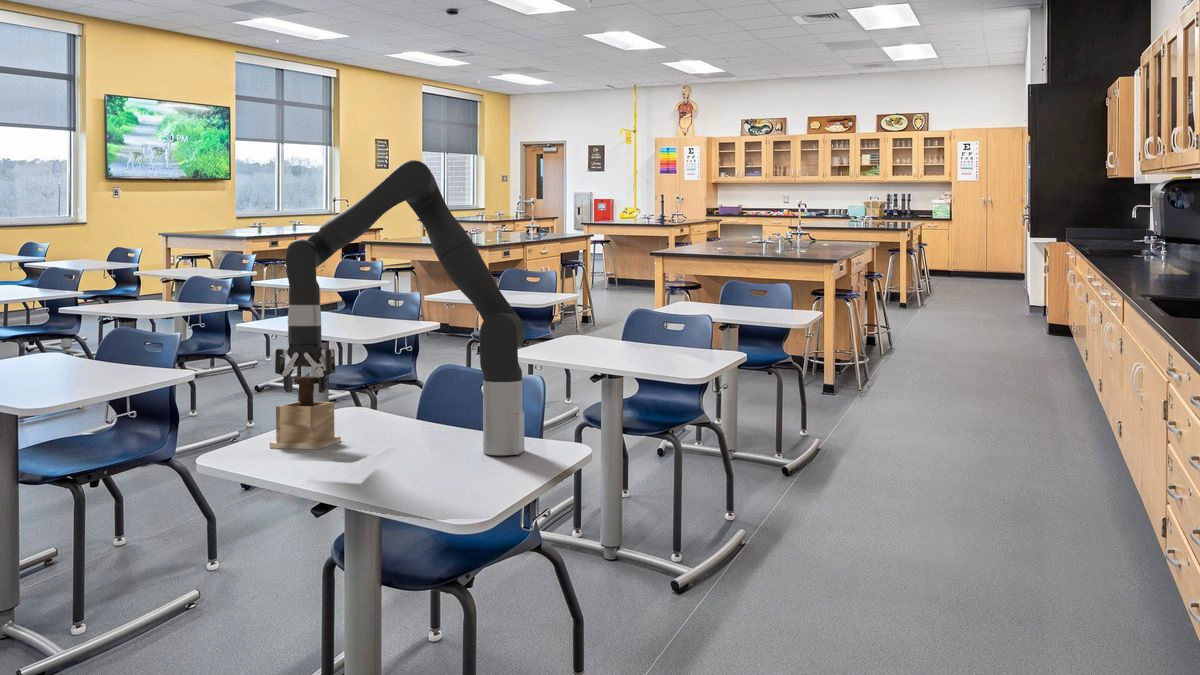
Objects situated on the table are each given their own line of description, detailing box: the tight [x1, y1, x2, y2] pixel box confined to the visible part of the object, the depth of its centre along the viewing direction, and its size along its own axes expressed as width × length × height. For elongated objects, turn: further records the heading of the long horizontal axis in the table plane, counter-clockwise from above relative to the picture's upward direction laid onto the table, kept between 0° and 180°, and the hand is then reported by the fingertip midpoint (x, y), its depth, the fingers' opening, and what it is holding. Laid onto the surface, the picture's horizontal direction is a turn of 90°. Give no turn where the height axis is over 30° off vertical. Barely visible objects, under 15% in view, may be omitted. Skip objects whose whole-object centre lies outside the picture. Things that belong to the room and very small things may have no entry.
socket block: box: [269, 401, 342, 450], centre depth 207 cm, size 12×12×10 cm
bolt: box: [293, 375, 319, 406], centre depth 207 cm, size 6×5×15 cm
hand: (305, 392), depth 207 cm, fingers open, 8 cm apart
